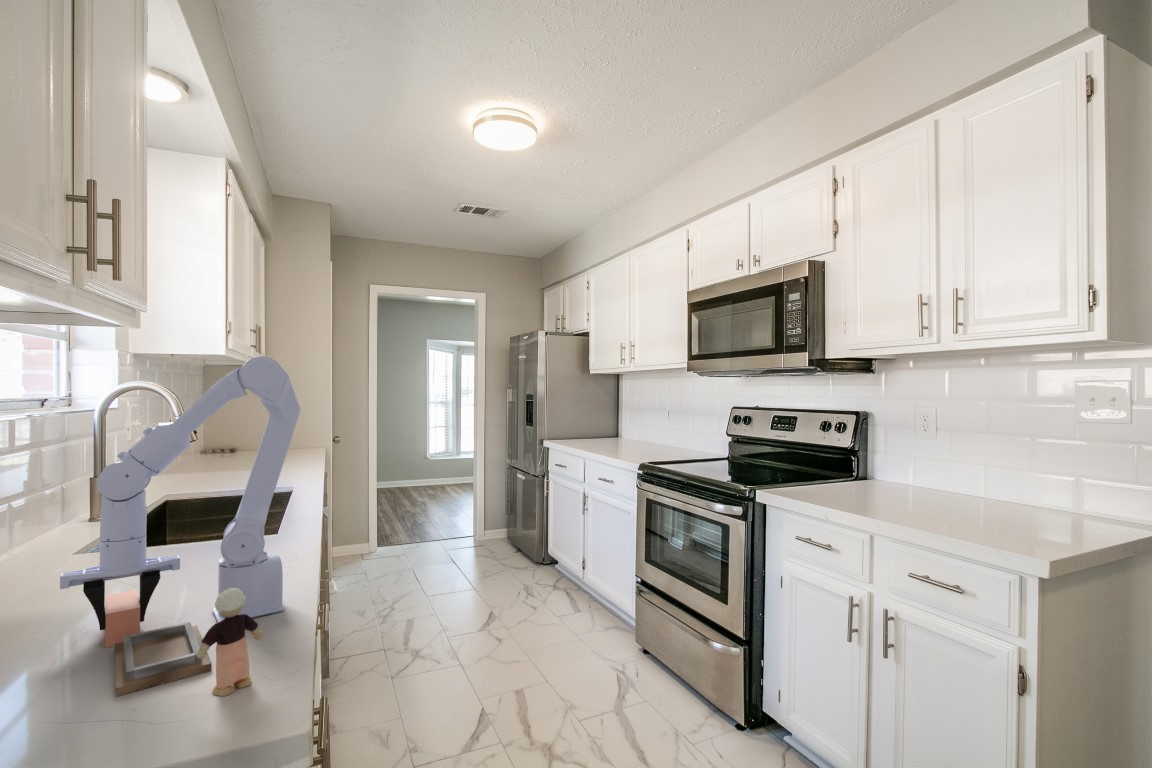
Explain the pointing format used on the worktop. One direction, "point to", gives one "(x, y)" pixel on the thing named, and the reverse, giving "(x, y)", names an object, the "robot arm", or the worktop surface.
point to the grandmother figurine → (230, 642)
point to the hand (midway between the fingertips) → (122, 623)
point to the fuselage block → (121, 616)
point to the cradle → (158, 657)
